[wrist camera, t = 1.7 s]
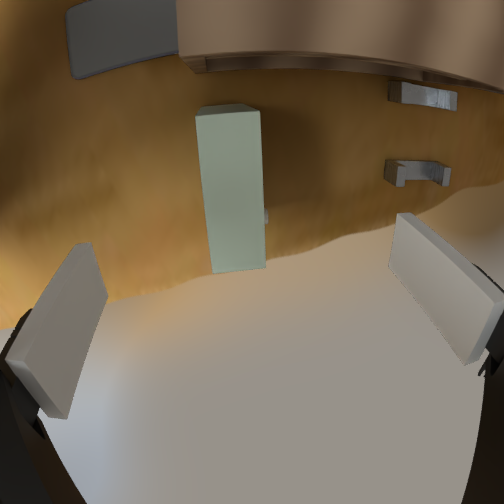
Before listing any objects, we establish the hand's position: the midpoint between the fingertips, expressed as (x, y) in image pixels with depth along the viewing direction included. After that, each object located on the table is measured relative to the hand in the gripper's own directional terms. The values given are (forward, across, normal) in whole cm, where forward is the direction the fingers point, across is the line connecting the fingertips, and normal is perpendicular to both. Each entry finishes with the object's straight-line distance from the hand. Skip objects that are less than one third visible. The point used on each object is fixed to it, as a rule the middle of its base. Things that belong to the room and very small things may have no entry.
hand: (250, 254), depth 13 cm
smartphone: (+17, -6, +14) cm, 23 cm away
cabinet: (+16, +9, +13) cm, 22 cm away
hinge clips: (+16, +19, +3) cm, 25 cm away
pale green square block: (+16, 0, 0) cm, 17 cm away
